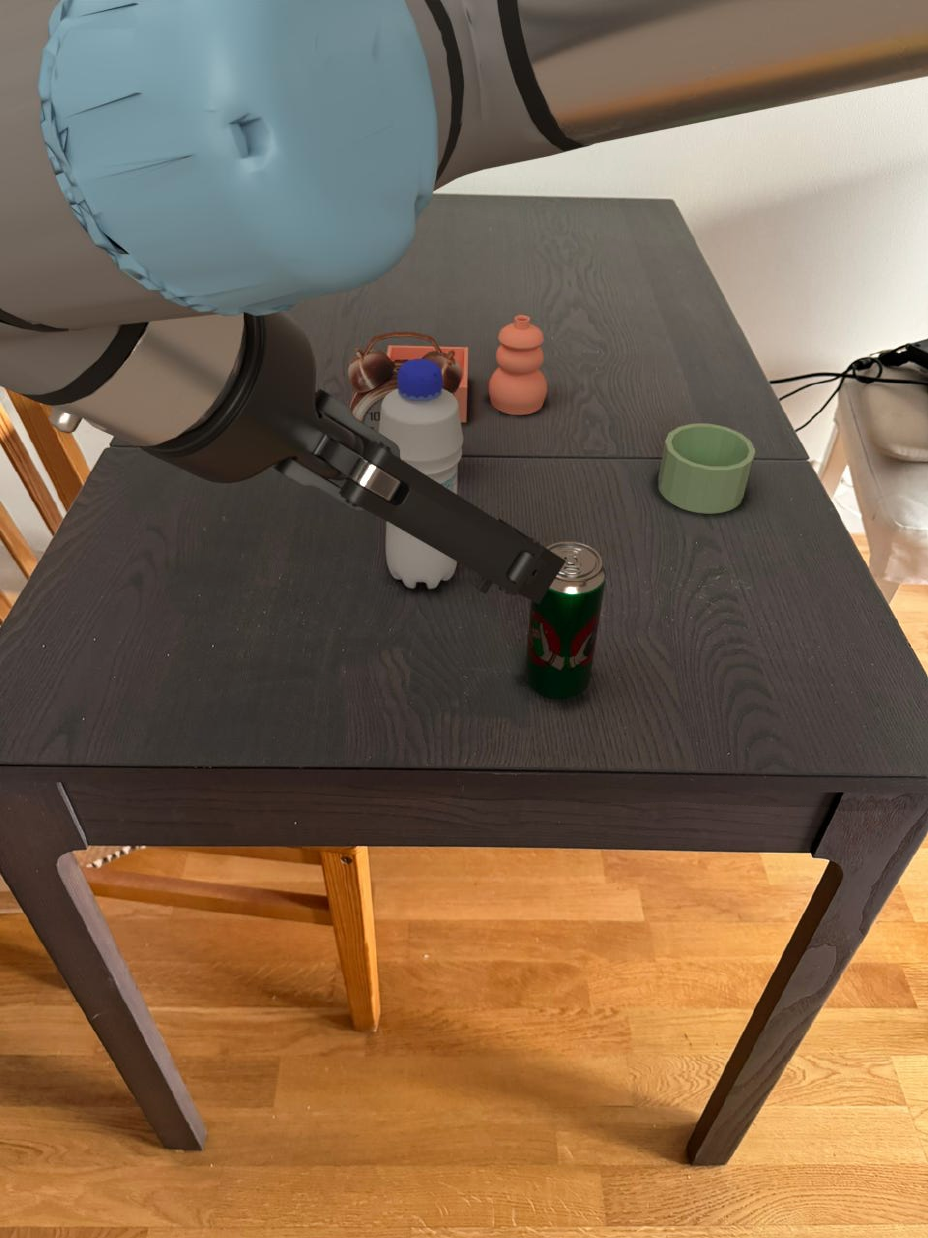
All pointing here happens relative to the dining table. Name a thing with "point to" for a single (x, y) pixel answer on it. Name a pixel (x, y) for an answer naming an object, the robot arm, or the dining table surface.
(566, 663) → the soda can
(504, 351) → the pottery
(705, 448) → the cup
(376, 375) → the alarm clock
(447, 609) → the dining table surface
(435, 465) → the bottle
